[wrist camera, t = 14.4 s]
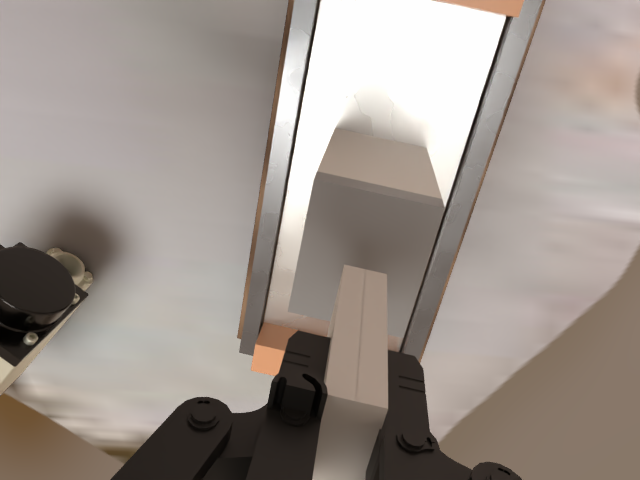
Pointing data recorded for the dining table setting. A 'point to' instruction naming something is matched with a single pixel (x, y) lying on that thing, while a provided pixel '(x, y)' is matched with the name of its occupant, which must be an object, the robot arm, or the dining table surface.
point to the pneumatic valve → (35, 303)
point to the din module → (368, 224)
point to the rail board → (379, 133)
